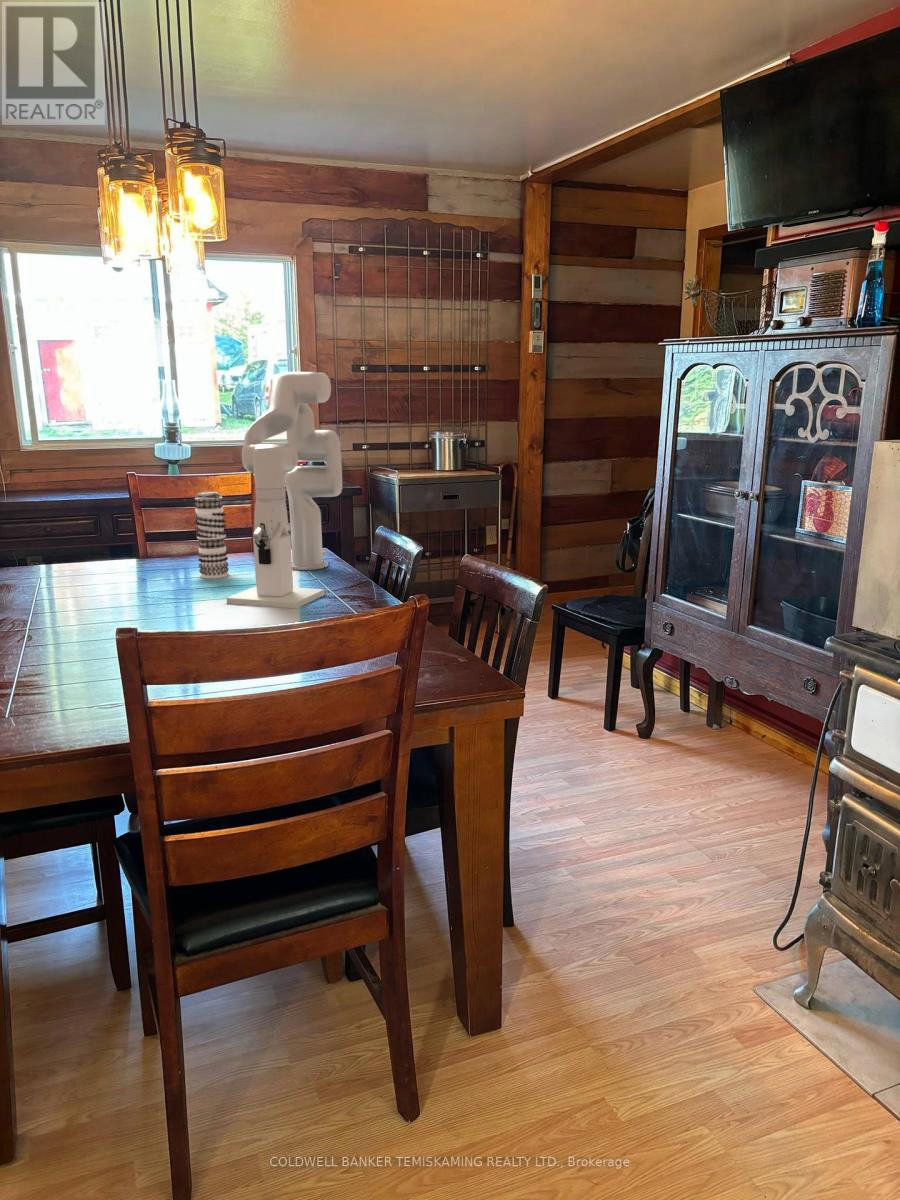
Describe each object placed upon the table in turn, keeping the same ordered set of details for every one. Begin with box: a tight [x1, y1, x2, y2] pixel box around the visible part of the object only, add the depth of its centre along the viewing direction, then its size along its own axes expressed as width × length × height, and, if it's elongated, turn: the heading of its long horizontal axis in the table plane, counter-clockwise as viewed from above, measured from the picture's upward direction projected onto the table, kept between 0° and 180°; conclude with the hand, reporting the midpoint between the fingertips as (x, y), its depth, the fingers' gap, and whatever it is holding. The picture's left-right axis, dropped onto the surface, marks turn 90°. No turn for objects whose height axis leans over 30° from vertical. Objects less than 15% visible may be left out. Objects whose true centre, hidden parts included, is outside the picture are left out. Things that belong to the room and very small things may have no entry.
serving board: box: [226, 585, 325, 609], centre depth 216 cm, size 16×20×2 cm
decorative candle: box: [193, 491, 230, 579], centre depth 244 cm, size 9×9×25 cm
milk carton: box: [252, 522, 294, 597], centre depth 213 cm, size 7×7×19 cm
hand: (274, 560), depth 214 cm, fingers open, 9 cm apart
